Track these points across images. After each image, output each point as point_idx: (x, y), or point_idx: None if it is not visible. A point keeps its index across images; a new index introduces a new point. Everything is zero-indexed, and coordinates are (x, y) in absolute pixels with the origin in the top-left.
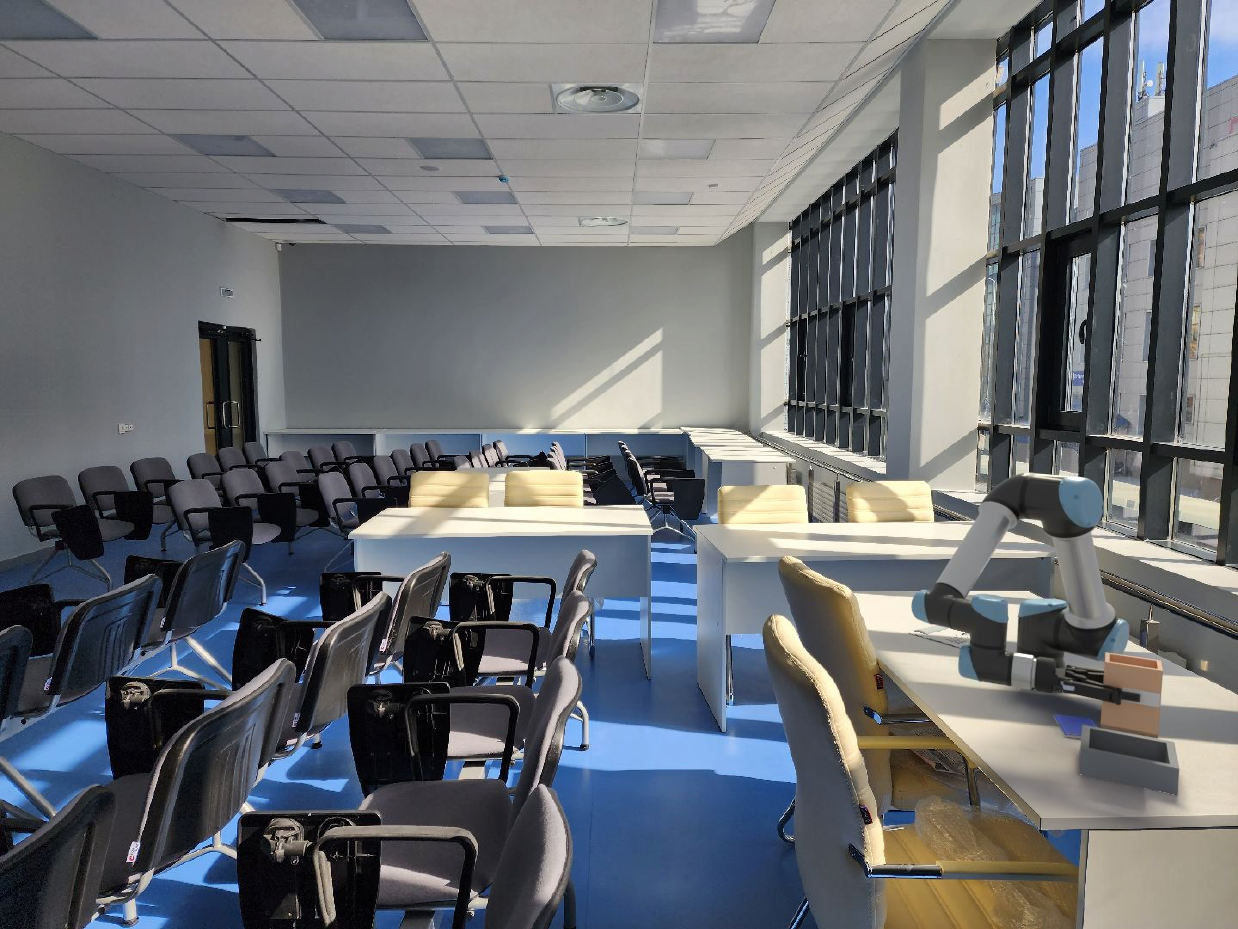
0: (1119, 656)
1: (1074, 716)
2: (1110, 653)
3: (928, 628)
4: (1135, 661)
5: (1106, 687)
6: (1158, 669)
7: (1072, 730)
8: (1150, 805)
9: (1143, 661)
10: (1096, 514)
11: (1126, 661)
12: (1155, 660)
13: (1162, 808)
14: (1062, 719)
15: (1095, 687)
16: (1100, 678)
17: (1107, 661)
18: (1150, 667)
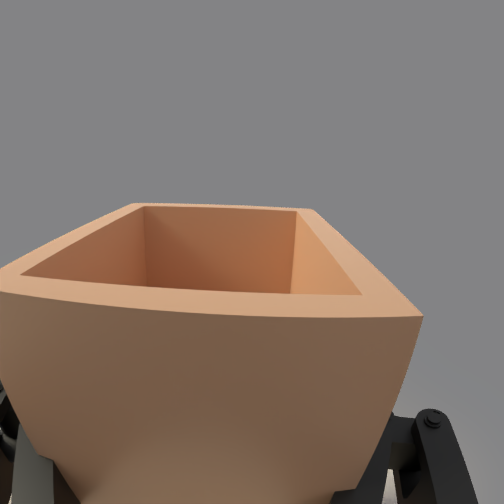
0: (63, 259)
1: None
2: (12, 270)
3: None
4: (111, 247)
5: (384, 471)
6: (301, 211)
7: None
8: (392, 499)
9: (124, 230)
10: None
11: (89, 273)
12: (139, 206)
13: (388, 484)
14: None
15: (476, 500)
16: (63, 494)
17: (384, 302)
18: (137, 248)
